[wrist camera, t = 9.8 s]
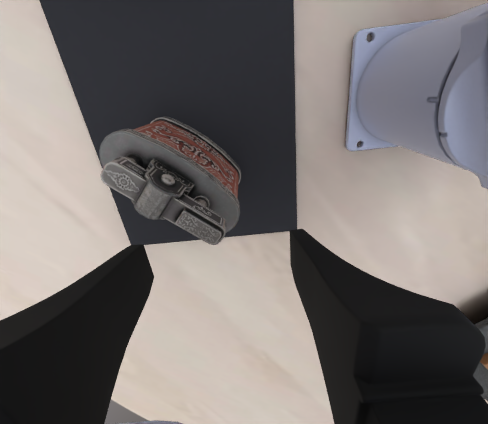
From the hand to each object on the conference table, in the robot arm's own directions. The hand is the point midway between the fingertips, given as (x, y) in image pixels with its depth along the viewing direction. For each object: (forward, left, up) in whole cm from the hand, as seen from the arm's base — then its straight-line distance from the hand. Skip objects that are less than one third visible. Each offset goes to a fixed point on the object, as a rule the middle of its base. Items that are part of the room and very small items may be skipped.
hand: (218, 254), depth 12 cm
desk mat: (+2, -5, -10) cm, 12 cm away
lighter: (+2, -3, -10) cm, 11 cm away
